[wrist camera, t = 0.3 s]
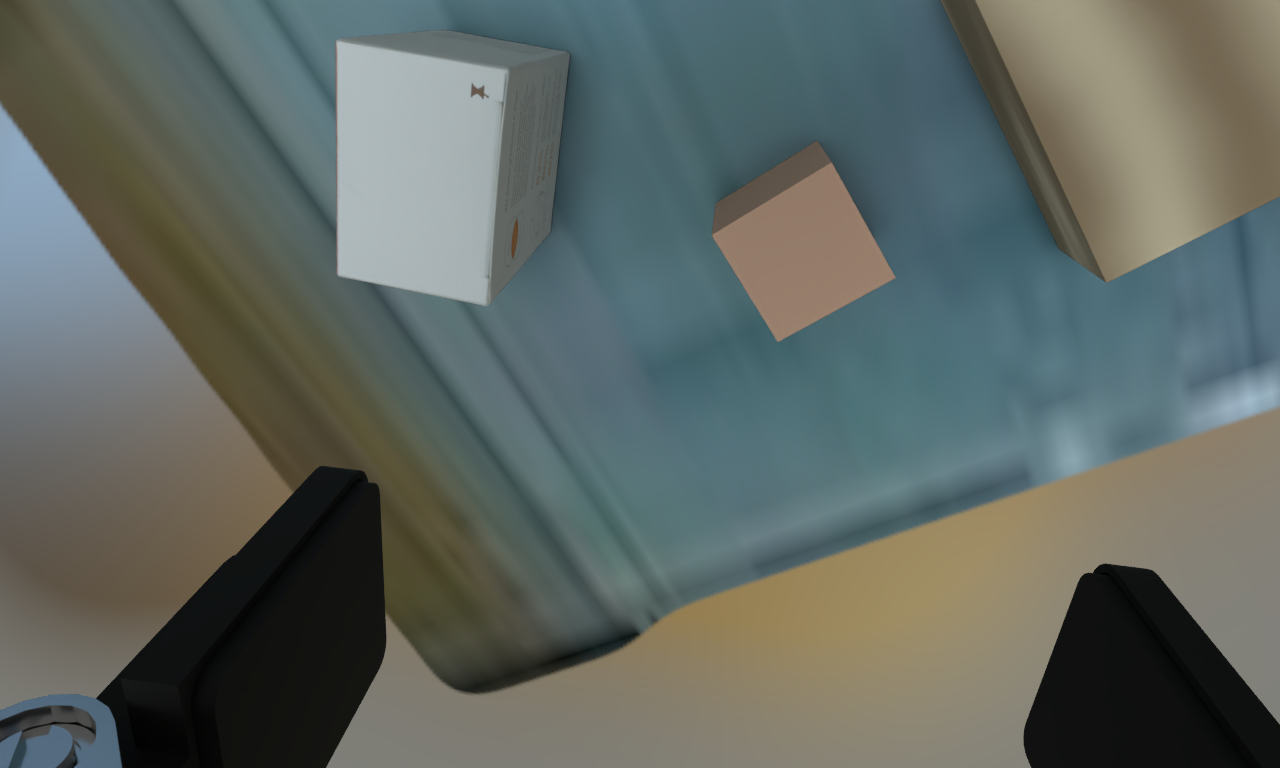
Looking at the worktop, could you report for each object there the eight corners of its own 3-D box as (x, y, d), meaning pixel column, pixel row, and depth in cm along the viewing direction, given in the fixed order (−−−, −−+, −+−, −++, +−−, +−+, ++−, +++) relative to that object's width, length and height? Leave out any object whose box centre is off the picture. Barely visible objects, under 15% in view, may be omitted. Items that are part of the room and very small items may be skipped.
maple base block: (1264, -222, 28) (1366, -269, 23) (1366, 89, 31) (1472, 100, 27) (936, -9, 32) (969, -14, 27) (1059, 249, 35) (1106, 282, 31)
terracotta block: (817, 140, 34) (831, 162, 29) (872, 239, 36) (895, 278, 30) (715, 203, 36) (711, 235, 31) (772, 295, 37) (777, 342, 32)
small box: (444, 27, 34) (330, 29, 25) (574, 51, 34) (510, 62, 25) (434, 214, 38) (329, 279, 28) (552, 236, 37) (487, 310, 28)
